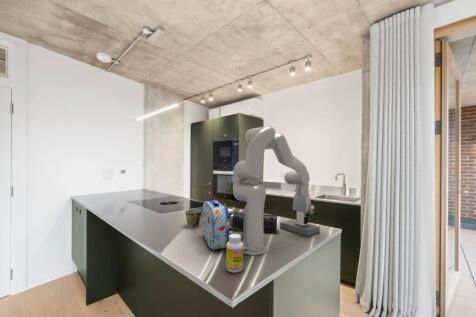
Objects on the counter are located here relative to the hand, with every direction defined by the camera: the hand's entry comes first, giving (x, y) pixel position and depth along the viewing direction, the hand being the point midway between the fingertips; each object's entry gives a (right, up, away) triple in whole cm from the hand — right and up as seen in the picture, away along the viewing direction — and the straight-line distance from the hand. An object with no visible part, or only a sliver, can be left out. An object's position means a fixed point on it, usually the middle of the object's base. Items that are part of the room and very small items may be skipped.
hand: (302, 222), depth 129 cm
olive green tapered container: (-67, -6, +8) cm, 68 cm away
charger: (0, -1, 0) cm, 1 cm away
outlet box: (-1, -6, +1) cm, 6 cm away
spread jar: (-47, -6, +7) cm, 47 cm away
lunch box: (-50, -5, -19) cm, 54 cm away
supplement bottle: (-40, -5, -45) cm, 60 cm away
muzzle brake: (-29, -6, +2) cm, 30 cm away
